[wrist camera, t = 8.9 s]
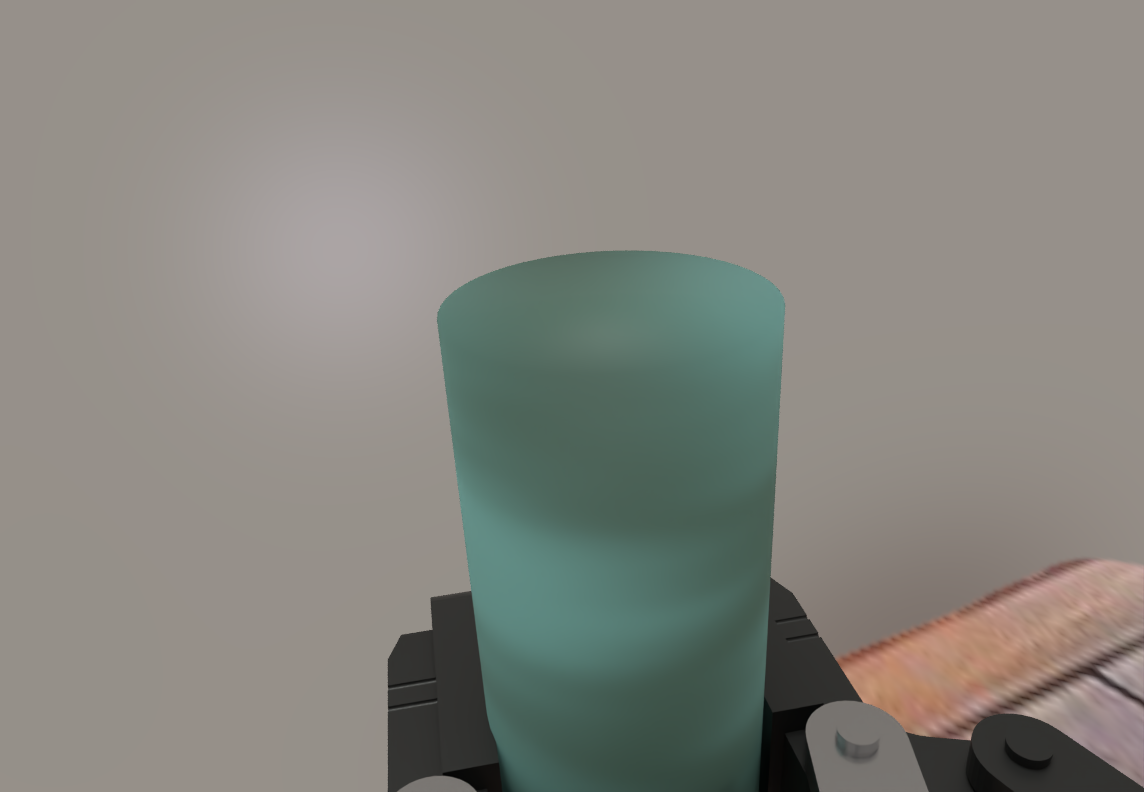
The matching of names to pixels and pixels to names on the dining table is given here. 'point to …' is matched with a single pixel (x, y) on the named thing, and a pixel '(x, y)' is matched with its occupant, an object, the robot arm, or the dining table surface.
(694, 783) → the dowel
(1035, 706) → the dining table surface
